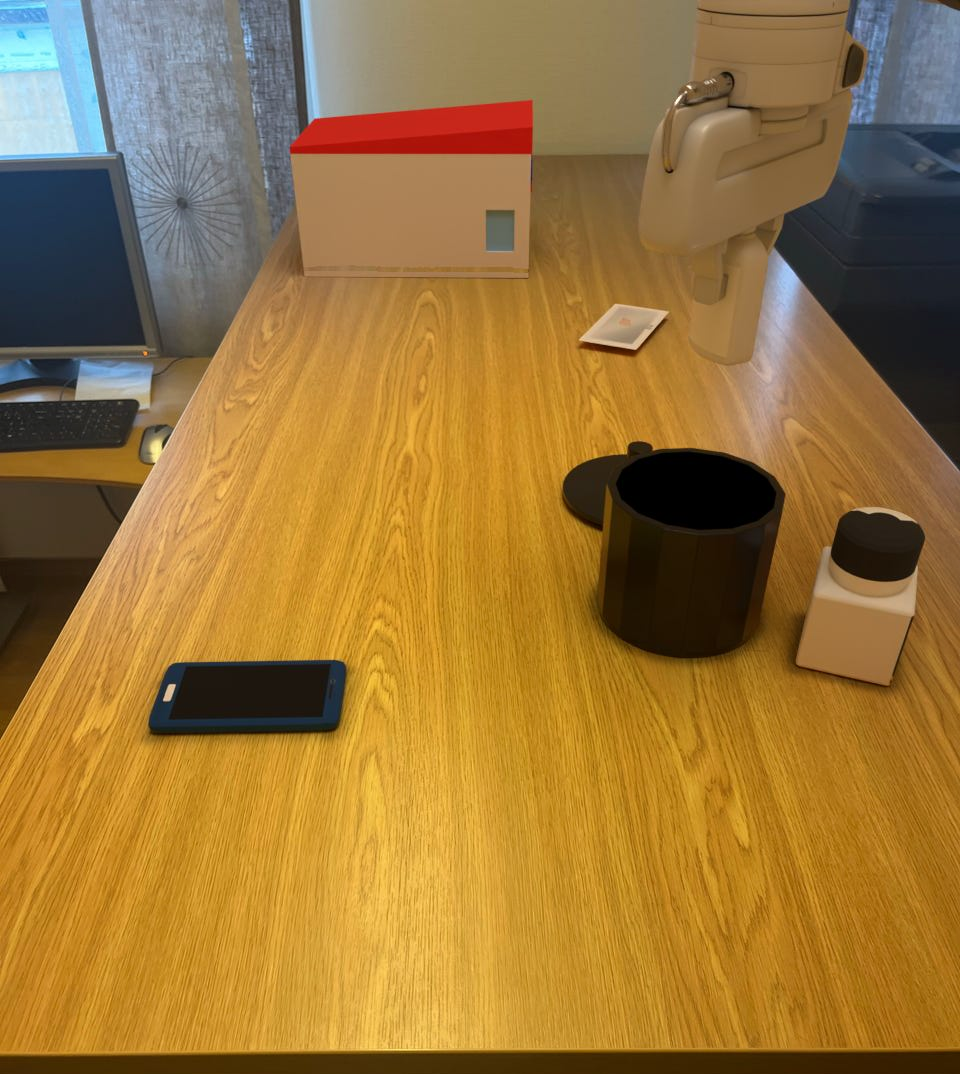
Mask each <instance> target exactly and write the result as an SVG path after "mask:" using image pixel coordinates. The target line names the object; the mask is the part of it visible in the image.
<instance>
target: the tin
mask: <svg viewBox="0 0 960 1074" xmlns="http://www.w3.org/2000/svg"><path fill="white" fill-rule="evenodd" d="M785 500H786V492H785V490H784V489H783V487H782V485H781V484H780V482H779V481H778V478H776V476H775V475H774V474H772V473H770V472H769V471H767V470H766V469H764V468H763V467H761V466H760V465H758V464H756V463H755V462H754V461H750V460H748V459H745V458H741V457H740V456H736V455H733V454H730V453H727V452H723V451H719V450H718V451H716V450H710V449H702V448H696V447H675V448H674V447H673V448H658V449H653V451H650V452H646V453H642V454H638V455H634V456H632V457H630V458H629V459H627V460H626V461H624V462H622V463H621V464H619V465H618V466H616V467H615V468H614V469H613V471H612V473H611V475H610V477H609V480H608V482H607V486H606V498H605V510H604V521H603V526H602V533H601V534H602V536H601V545H600V557H599V569H598V570H599V571H598V582H597V593H596V594H597V595H596V598H597V599H596V600H597V606H598V607H597V608H598V612H599V614H600V617H601V619H602V620H603V622H604V624H605V625H606V626H607V627H608V629H610V631H612V632H613V633H614V634H615V635H616V636H617V637H619V638H620V639H622V640H623V641H625V642H627V643H629V644H630V645H632V646H634V647H636V648H639V649H641V650H644V651H647V652H649V653H653V654H658V655H662V656H667V657H672V658H685V659H686V658H693V659H694V658H696V659H697V658H706V657H707V658H708V657H712V656H713V657H714V656H719V655H722V654H726V653H729V652H730V651H732V650H735V649H738V648H739V647H740V646H743V645H744V644H745V643H746V642H748V641H749V640H750V638H751V637H752V636H753V635H754V634H755V632H756V631H757V628H758V627H759V624H760V623H759V622H760V618H761V614H762V609H763V604H764V600H765V596H766V591H767V586H768V581H769V576H770V572H771V567H772V563H773V557H774V553H775V548H776V544H777V540H778V534H779V529H780V526H781V520H782V516H783V511H784V506H785Z"/></svg>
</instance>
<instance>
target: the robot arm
mask: <svg viewBox="0 0 960 1074" xmlns="http://www.w3.org/2000/svg"><path fill="white" fill-rule="evenodd" d="M917 1H919V2H924V3H930V4H938V5H942V6H946V7H948V8H950V9H953V10H955V11H959V12H960V0H917ZM850 4H851V0H697V2H696V11H695V19H694V29H693V38H692V47H691V56H690V65H689V74H688V82H687V83H685V84H683V85H682V86H681V87H680V88H679V90H678V92H677V96H676V98H675V99H674V101H673V102H672V103H671V105H670V107H669V108H668V109H667V110H666V111H665V114H664V117H663V119H662V120H661V121H660V122H659V124H658V126H657V128H656V130H655V132H654V135H653V138H652V142H651V145H650V149H649V154H648V158H647V164H646V168H645V169H646V170H645V175H644V180H643V186H642V194H641V198H640V199H641V200H640V206H639V213H638V221H637V233H638V234H637V235H638V236H639V240H640V242H641V245H642V246H643V248H644V249H646V250H648V251H652V252H656V253H660V254H664V255H669V256H674V257H679V258H687V257H688V258H689V262H690V265H691V268H692V272H693V275H694V280H693V288H692V300H693V299H694V300H695V301H696V302H698V303H702V304H706V305H713V304H714V303H717V302H719V301H720V300H722V299H724V297H725V296H726V287H727V283H728V277H729V275H726V274H723V267H722V255H723V254H725V253H726V251H727V245H728V239H729V238H731V237H733V236H736V235H738V234H740V233H742V232H745V231H747V230H749V229H751V228H754V227H756V230H755V231H753V232H754V234H755V235H756V236H757V237H758V238H759V239H760V241H761V242H762V244H763V245H764V247H765V249H766V251H767V255H768V257H769V256H770V255H771V252H772V251H773V248H774V246H775V244H776V242H777V239H778V237H779V235H780V233H781V231H782V230H783V224H784V219H785V215H786V214H788V213H790V212H792V211H794V210H796V209H799V208H801V207H804V206H806V205H808V204H810V203H813V202H815V201H817V200H819V199H821V198H824V196H826V193H827V192H828V191H829V188H830V187H831V184H832V183H833V181H834V178H835V176H836V173H837V170H838V167H839V162H840V158H841V156H842V152H843V147H844V143H845V139H846V136H847V131H848V127H849V122H850V119H851V114H852V107H853V91H852V89H853V88H855V87H857V86H859V85H860V84H861V83H862V82H863V79H864V77H865V74H866V69H867V64H868V58H869V52H868V48H867V47H866V46H865V45H864V44H862V43H860V42H859V41H858V40H856V38H854V37H853V36H852V35H851V33H850V32H849V31H848V30H847V29H846V26H847V19H848V15H849V9H850Z"/></svg>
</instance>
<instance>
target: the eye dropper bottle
mask: <svg viewBox="0 0 960 1074" xmlns="http://www.w3.org/2000/svg"><path fill="white" fill-rule="evenodd" d="M755 230H756V227H754V228H751V229H749V230H747V231H745V232H742V233H740V234H738V235H736V236H733V237H731V238H729V239H728V245H727V251H726V253H725V254H723V255H722V267H723V274H726V275H729V277H728V283H727V287H726V296H725V297H724V299H722V300H720V301H719V302H717V303H714V304H713V305H706V304H702V303H698V302H696V301H695V300H694V299H693V298H692V303H691V309H690V318H689V326H688V335H687V342H688V344H689V346H690V348H691V349H692V350H693V351H694V352H695V353H696V354H697V355H698V356H700V357H702V358H704V359H706V360H707V361H710V362H713V363H715V364H718V365H722V366H735V365H740V364H746V363H748V362H749V363H750V361H751V360H752V359H753V355H754V350H755V344H756V338H757V332H758V327H759V320H760V316H761V309H762V302H763V297H764V291H765V285H766V280H767V273H768V267H769V266H768V265H769V256H768V255H767V251H766V249H765V247H764V245H763V244H762V242H761V241H760V239H759V238H758V237H757V236H756V235H755V234H754V232H753V231H755Z"/></svg>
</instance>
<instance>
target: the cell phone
mask: <svg viewBox="0 0 960 1074" xmlns="http://www.w3.org/2000/svg"><path fill="white" fill-rule="evenodd" d="M346 680H347V666H346V663H345V662H344V661H342V660H339V659H302V660H301V659H298V660H296V659H295V660H293V659H292V660H290V659H289V660H243V661H242V660H239V661H237V660H236V661H235V660H233V661H182V662H181V661H180V662H179V661H178V662H174V663H173V662H172V663H171V664H170V665H168V667H167V669H166V671H165V672H164V674H163V678H162V681H161V683H160V685H159V688H158V691H157V694H156V696H155V700H154V701H153V706H152V708H151V710H150V713H149V716H148V723H147V725H148V728H149V730H150V732H151V733H154V734H192V733H193V734H198V733H200V734H201V733H202V734H203V733H205V734H206V733H255V732H256V733H258V732H259V733H260V732H263V733H264V732H311V731H312V732H313V731H316V732H319V731H330V730H332V729H335V728H337V727H338V725H339V722H340V721H341V716H342V708H343V701H344V693H345V687H346Z"/></svg>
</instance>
